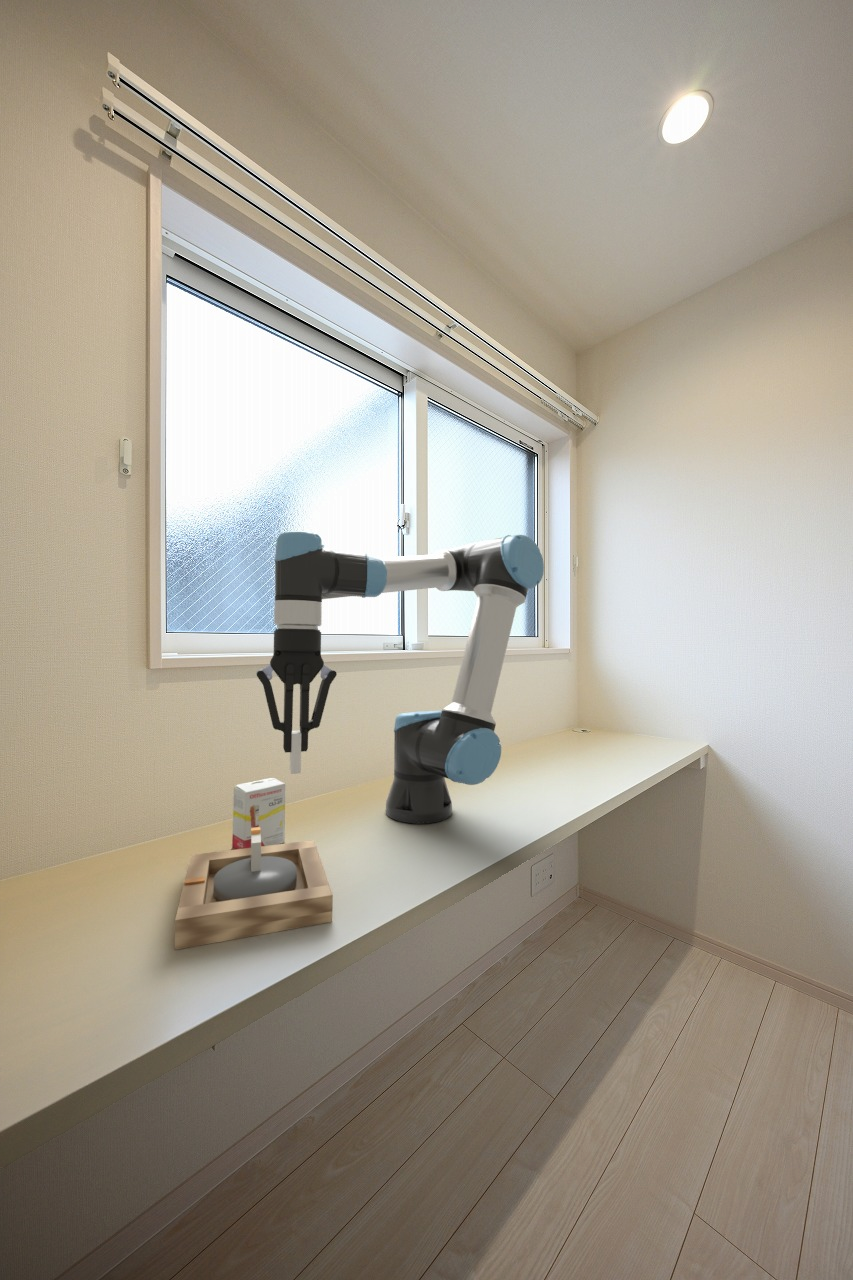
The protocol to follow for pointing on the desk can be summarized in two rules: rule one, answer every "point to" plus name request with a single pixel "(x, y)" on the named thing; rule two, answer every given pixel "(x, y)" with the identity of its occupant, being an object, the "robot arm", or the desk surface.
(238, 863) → the dial
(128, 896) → the desk surface
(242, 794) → the ink box
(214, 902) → the wooden tray
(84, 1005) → the desk surface
